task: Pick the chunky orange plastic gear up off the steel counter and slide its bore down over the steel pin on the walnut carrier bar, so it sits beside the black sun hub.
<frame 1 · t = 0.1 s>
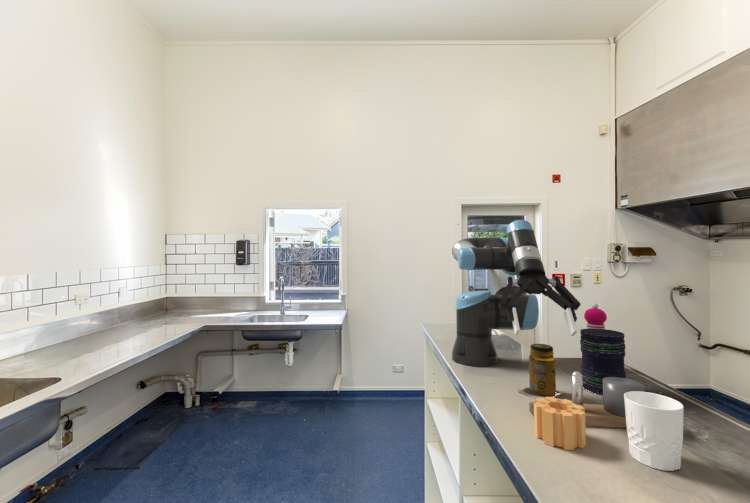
hand: (545, 333, 86), 15 cm above the countertop, tool tilted 35°, fingers open, 13 cm apart
carrier bar: (588, 419, 72), on the countertop
steel pin: (578, 418, 72), resting on carrier bar
white cup: (654, 460, 57), on the countertop
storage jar: (603, 390, 88), on the countertop
condiment: (540, 394, 86), on the countertop
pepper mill: (596, 367, 107), on the countertop
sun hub: (623, 420, 71), resting on carrier bar
planet gear: (559, 437, 65), on the countertop
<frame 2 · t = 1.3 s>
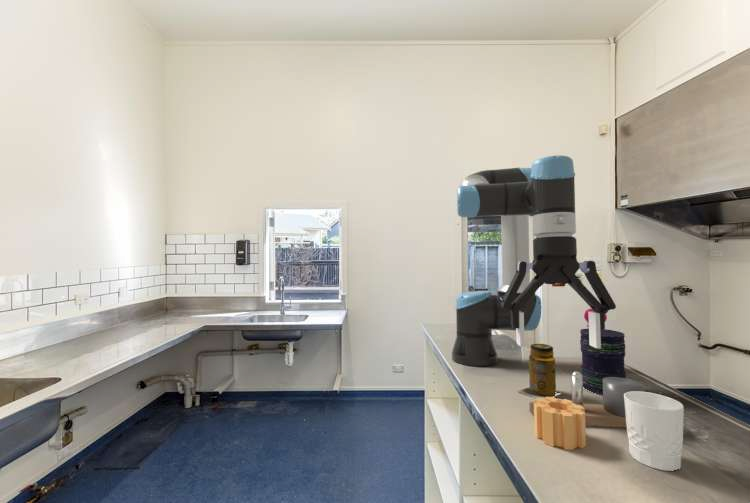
hand: (557, 346, 65), 17 cm above the countertop, tool pointing down, fingers open, 13 cm apart
nothing on the countertop moved.
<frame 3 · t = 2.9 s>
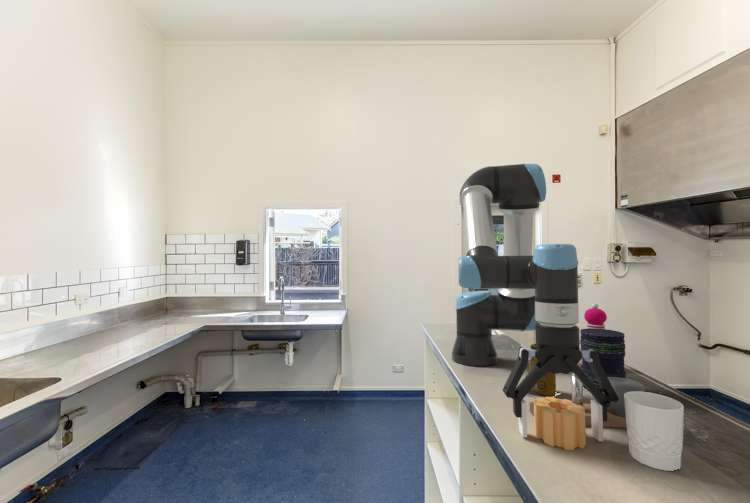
hand: (559, 435, 65), 0 cm above the countertop, tool pointing down, fingers open, 13 cm apart
nothing on the countertop moved.
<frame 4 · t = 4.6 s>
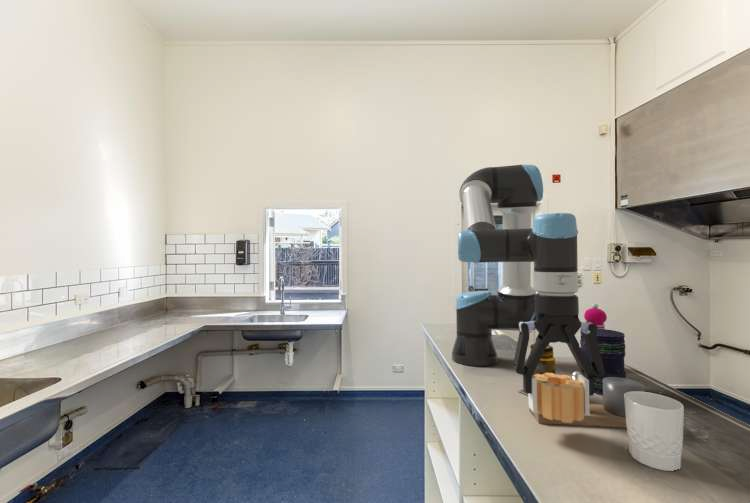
hand: (558, 410, 65), 5 cm above the countertop, tool pointing down, fingers closed on planet gear, 9 cm apart
planet gear: (557, 411, 65), point 5 cm above the countertop, touching gripper
everything else where it was.
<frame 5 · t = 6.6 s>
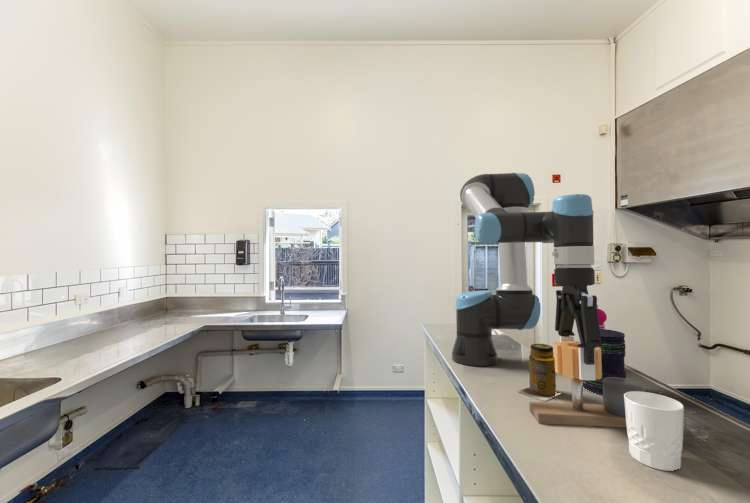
hand: (576, 372, 72), 10 cm above the countertop, tool pointing down, fingers closed on planet gear, 9 cm apart
planet gear: (577, 373, 72), point 10 cm above the countertop, touching gripper
everything else where it was.
when the fingers open (3 cm above the countertop, at t = 8.6 s): planet gear stays where it is, resting on carrier bar.
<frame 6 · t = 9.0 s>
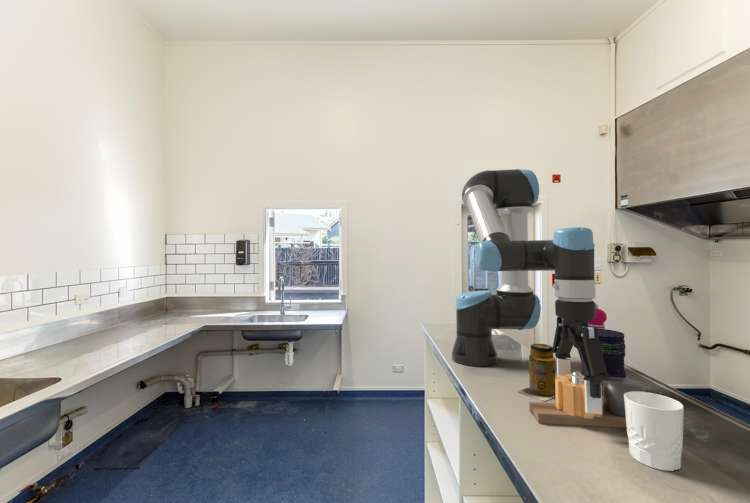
hand: (577, 399, 72), 4 cm above the countertop, tool pointing down, fingers open, 13 cm apart
planet gear: (578, 409, 72), point 2 cm above the countertop, touching carrier bar
everything else where it was.
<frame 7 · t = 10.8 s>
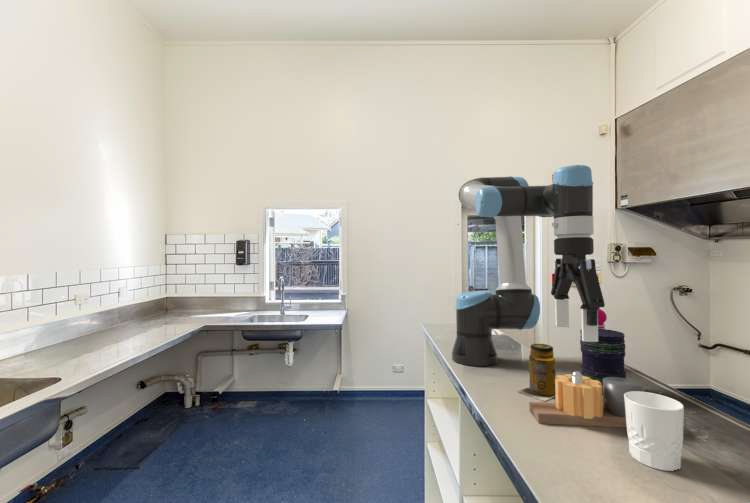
hand: (574, 333, 74), 18 cm above the countertop, tool pointing down, fingers open, 13 cm apart
nothing on the countertop moved.
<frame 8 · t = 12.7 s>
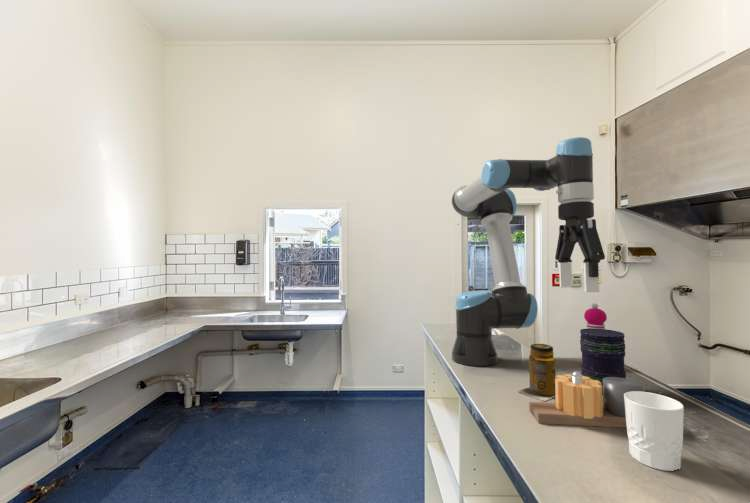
hand: (577, 289, 82), 27 cm above the countertop, tool pointing down, fingers open, 13 cm apart
nothing on the countertop moved.
at the end: planet gear 0.2 cm off-centre on the steel pin, point 2.0 cm above the steel pin's base; planet gear tilted 0°; the gripper is holding nothing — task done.
